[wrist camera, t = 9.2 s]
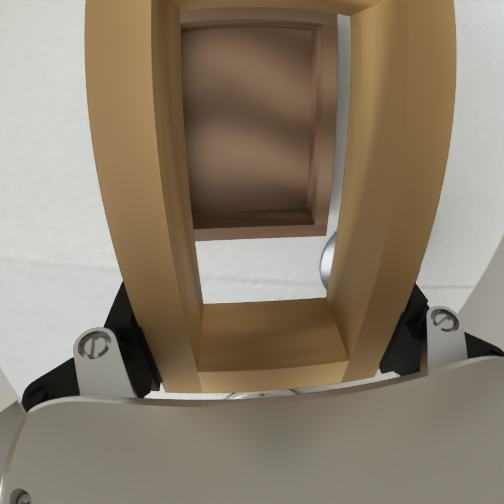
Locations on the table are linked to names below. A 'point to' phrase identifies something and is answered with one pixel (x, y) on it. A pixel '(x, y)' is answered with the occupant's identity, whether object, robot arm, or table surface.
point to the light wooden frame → (351, 210)
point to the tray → (259, 120)
